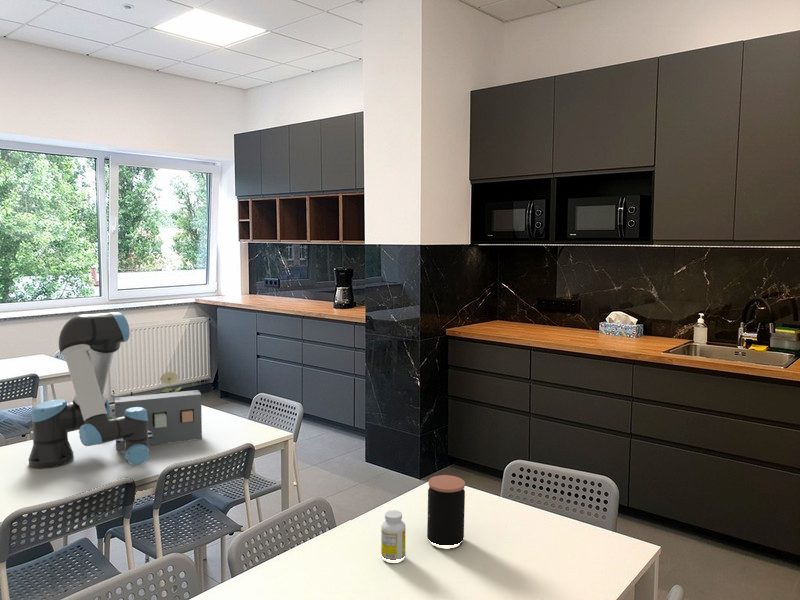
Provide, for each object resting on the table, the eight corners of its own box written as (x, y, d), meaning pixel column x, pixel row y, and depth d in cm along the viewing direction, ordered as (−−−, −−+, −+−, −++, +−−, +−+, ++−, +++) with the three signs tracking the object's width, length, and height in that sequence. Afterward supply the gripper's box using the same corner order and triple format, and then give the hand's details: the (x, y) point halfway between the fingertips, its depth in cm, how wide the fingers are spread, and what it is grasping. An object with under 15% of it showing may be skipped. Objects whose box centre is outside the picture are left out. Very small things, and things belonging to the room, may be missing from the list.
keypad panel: (116, 449, 247) (114, 402, 245) (115, 443, 254) (114, 397, 252) (201, 438, 262) (201, 394, 260) (199, 433, 269) (198, 390, 267)
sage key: (155, 427, 248) (155, 417, 248) (154, 423, 254) (153, 413, 254) (166, 426, 250) (166, 416, 250) (165, 422, 256) (164, 412, 256)
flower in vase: (192, 419, 290) (191, 368, 288) (185, 426, 279) (184, 374, 277) (165, 419, 290) (163, 368, 287) (157, 426, 278) (155, 374, 276)
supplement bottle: (398, 550, 169) (398, 506, 168) (409, 561, 163) (410, 516, 162) (377, 555, 166) (377, 511, 165) (387, 567, 160) (388, 521, 159)
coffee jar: (441, 529, 182) (442, 472, 180) (470, 540, 175) (472, 481, 173) (419, 542, 174) (420, 482, 172) (450, 554, 167) (451, 492, 165)
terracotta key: (182, 422, 256) (182, 412, 256) (180, 418, 262) (180, 408, 262) (193, 421, 258) (192, 411, 258) (190, 417, 264) (190, 407, 264)
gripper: (116, 455, 221) (115, 436, 242) (154, 450, 226) (150, 432, 247) (116, 435, 220) (114, 418, 241) (154, 431, 226) (149, 414, 247)
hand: (132, 425), depth 244 cm, fingers closed
